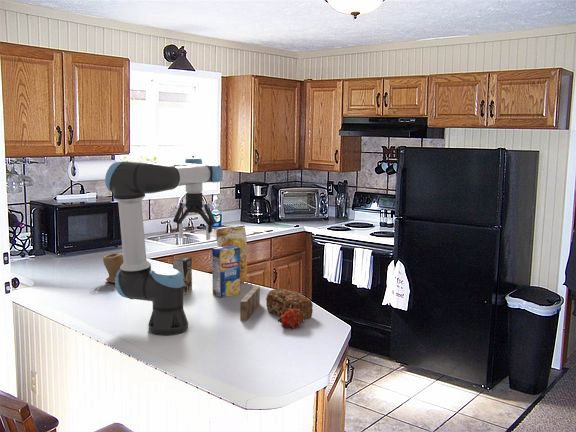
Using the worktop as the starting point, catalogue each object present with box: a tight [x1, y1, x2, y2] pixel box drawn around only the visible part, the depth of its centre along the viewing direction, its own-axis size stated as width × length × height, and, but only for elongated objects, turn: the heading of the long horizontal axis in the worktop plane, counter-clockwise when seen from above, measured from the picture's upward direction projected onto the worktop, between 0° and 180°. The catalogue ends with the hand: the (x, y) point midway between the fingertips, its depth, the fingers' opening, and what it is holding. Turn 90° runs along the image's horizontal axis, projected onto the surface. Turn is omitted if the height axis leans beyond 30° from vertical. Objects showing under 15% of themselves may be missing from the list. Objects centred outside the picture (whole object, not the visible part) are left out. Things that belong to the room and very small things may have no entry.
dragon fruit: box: [277, 307, 306, 330], centre depth 243 cm, size 8×8×12 cm
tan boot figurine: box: [102, 252, 124, 284], centre depth 307 cm, size 15×12×15 cm
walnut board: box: [239, 286, 261, 322], centre depth 262 cm, size 24×2×8 cm, turn 170°
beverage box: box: [211, 245, 241, 298], centre depth 288 cm, size 7×11×22 cm, turn 129°
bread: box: [265, 288, 313, 320], centre depth 259 cm, size 19×11×10 cm, turn 41°
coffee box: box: [172, 256, 193, 296], centre depth 291 cm, size 9×6×16 cm
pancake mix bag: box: [215, 225, 248, 283], centre depth 310 cm, size 7×19×28 cm, turn 129°
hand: (194, 238), depth 282 cm, fingers open, 13 cm apart
